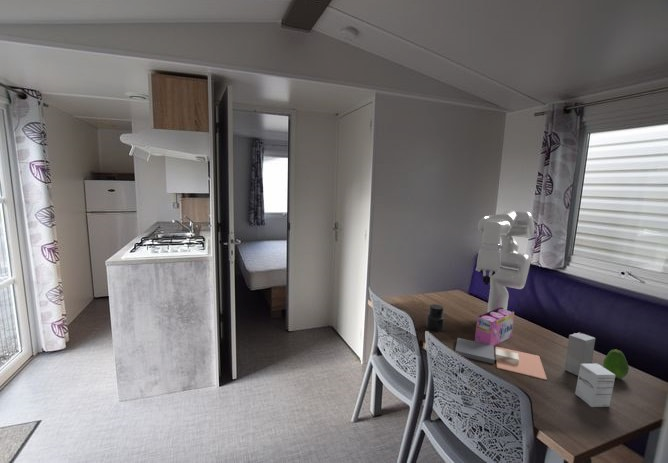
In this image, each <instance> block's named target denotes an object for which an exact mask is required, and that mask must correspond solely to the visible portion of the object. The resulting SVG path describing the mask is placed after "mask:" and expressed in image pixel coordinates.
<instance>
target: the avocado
mask: <svg viewBox="0 0 668 463" xmlns="http://www.w3.org/2000/svg"><path fill="white" fill-rule="evenodd" d="M602 367H604V368H605V369H607V370H609V371H610V372H612V373H613V374H615V375H616V376H615V379H623V378H625V377H626V376H627V375H628V373H629V364H628V361H627V359H626V356H625V354H624V353H623V352H622V350H618V349H617V348H616V349H610V351H609V352H608V353H607V354H606V356H605V357H604V359H603V364H602Z"/></svg>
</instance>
